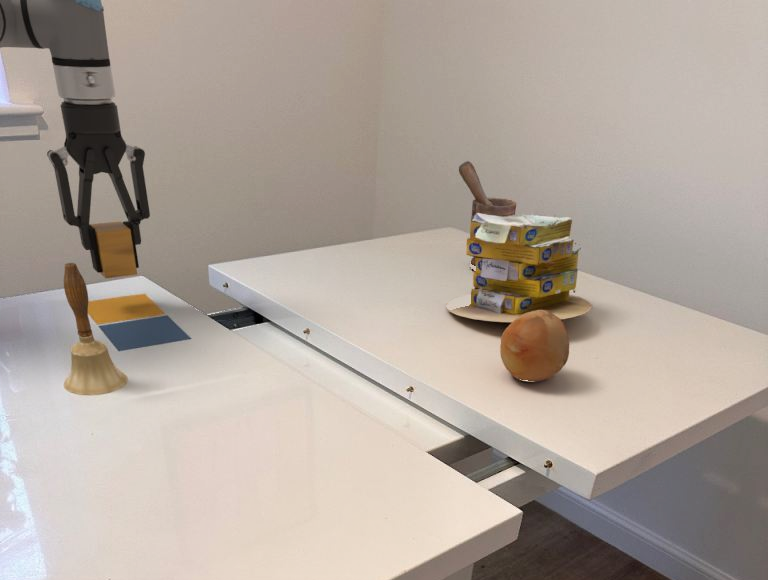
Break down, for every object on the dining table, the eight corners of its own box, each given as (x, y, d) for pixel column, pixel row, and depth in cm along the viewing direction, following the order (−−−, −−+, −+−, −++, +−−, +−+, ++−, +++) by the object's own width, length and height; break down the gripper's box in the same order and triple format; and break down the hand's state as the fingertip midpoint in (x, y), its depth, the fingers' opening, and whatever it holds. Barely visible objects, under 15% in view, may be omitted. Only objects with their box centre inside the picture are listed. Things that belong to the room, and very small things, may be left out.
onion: (503, 360, 110) (513, 295, 104) (568, 372, 107) (582, 307, 101) (487, 384, 102) (497, 316, 97) (556, 398, 100) (571, 329, 94)
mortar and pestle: (461, 277, 143) (473, 167, 131) (445, 264, 149) (455, 158, 138) (513, 274, 146) (530, 167, 134) (495, 261, 153) (509, 158, 141)
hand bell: (66, 402, 91) (37, 277, 82) (60, 376, 98) (33, 257, 88) (133, 393, 94) (113, 271, 85) (124, 368, 101) (104, 252, 91)
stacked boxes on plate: (419, 301, 130) (427, 203, 120) (526, 285, 140) (541, 194, 131) (503, 352, 113) (520, 242, 103) (617, 329, 123) (642, 228, 114)
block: (96, 269, 115) (88, 224, 111) (128, 266, 118) (120, 221, 114) (105, 278, 112) (97, 232, 108) (137, 274, 114) (130, 228, 110)
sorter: (79, 305, 120) (79, 302, 119) (145, 296, 125) (144, 293, 124) (119, 354, 104) (118, 351, 104) (191, 341, 110) (191, 338, 109)
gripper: (24, 105, 94) (62, 282, 108) (160, 102, 103) (179, 267, 116) (13, 98, 99) (51, 268, 113) (143, 96, 108) (163, 255, 121)
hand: (116, 267), depth 114 cm, fingers closed on block, 5 cm apart
